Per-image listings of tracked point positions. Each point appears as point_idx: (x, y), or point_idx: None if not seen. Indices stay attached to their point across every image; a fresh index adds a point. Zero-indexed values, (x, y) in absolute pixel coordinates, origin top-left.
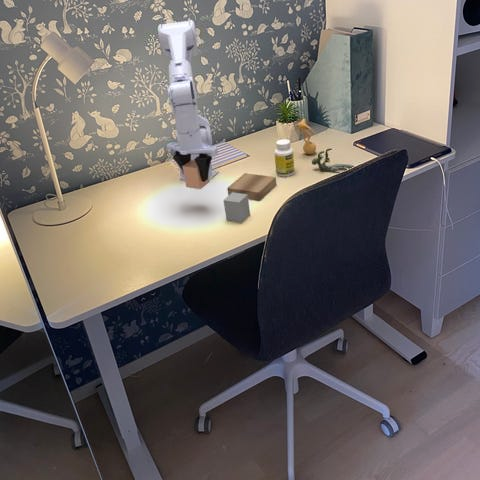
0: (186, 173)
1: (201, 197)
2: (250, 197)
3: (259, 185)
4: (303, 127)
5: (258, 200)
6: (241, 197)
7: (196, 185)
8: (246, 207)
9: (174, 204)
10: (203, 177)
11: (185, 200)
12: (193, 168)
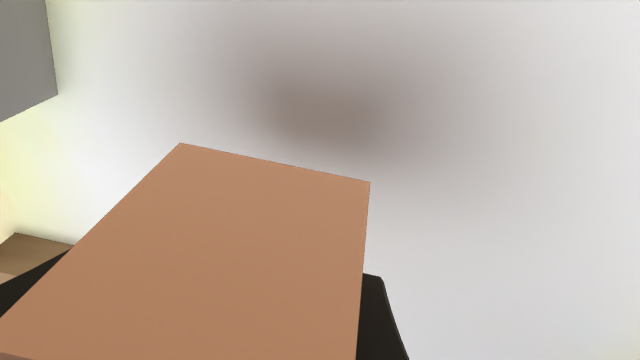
0: (299, 296)
1: (372, 259)
2: (61, 252)
3: None
4: None
5: (22, 236)
6: None
7: (208, 170)
8: None
9: (542, 165)
10: (71, 248)
11: (472, 221)
12: (67, 350)
